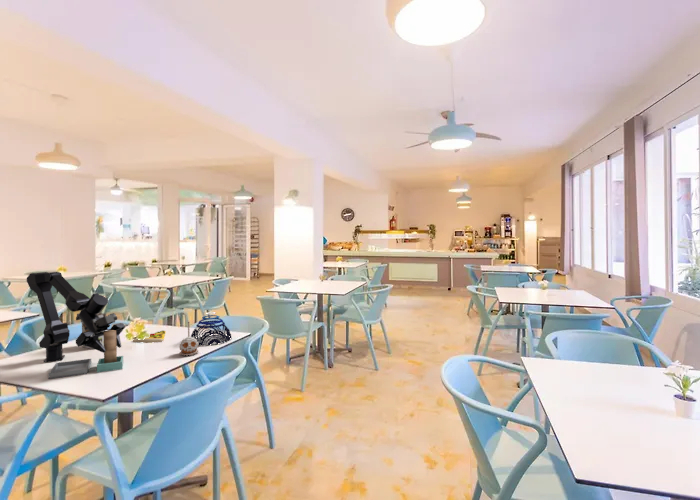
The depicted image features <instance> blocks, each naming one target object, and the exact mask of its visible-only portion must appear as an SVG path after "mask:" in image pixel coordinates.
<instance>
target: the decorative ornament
mask: <svg viewBox="0 0 700 500" xmlns="http://www.w3.org/2000/svg"><path fill="white" fill-rule="evenodd" d="M197 340H198V339H197V338H196V339H195V338H194V337H193V338H192V337H191V335H190V321H187V336H186V337H184V338H183V339H182V340H181V341H180V343H179V355H180V356H185V355H186V356H187V357H188V355H189V356H193V355H196V354H198V353H199V350H198V348H199V346H198V345H199V343H198V342H197Z"/></svg>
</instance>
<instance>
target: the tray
mask: <svg viewBox="0 0 700 500" xmlns="http://www.w3.org/2000/svg"><path fill="white" fill-rule="evenodd" d="M92 364H93V363H92V358H84V359H78V360H77V359H75V360H69V361H60V362H59V361H58V362H56V363H55V364H54V365H53V367H52V368H51V370H50V371H49V372H48V376H47V377H48V380H52V379H58V378H65V377H66V378H68V377H73V376H80V375H88V372H89V369H90V367H91V365H92Z"/></svg>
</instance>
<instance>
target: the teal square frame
mask: <svg viewBox="0 0 700 500" xmlns="http://www.w3.org/2000/svg"><path fill="white" fill-rule="evenodd" d="M123 367H124V355H120V356H119V355H117V362H113V363H105V364H104V357H102V358H99V359H98V361H97V364H96V373H103V372H109V371H117V370H118V371H119V370H122V369H123Z"/></svg>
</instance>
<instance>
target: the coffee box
mask: <svg viewBox="0 0 700 500" xmlns="http://www.w3.org/2000/svg"><path fill="white" fill-rule="evenodd" d="M97 315H98V316H99V317H100V318H101V317H105V316H107V315H106V313H102V312H100V313H98V314H97ZM85 327H86V326H85V325H84V323H83V322H82V321H81V333H83V332H87V331H89V330H85V329H84V328H85ZM98 338H99V341H100V342H101V344H102V345H103V347H104V335H103V336H100V337H98ZM82 348H84V349H85V348H87V349H91V350H95V349H94V348H91V347H88V346H84V345H82Z"/></svg>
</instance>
